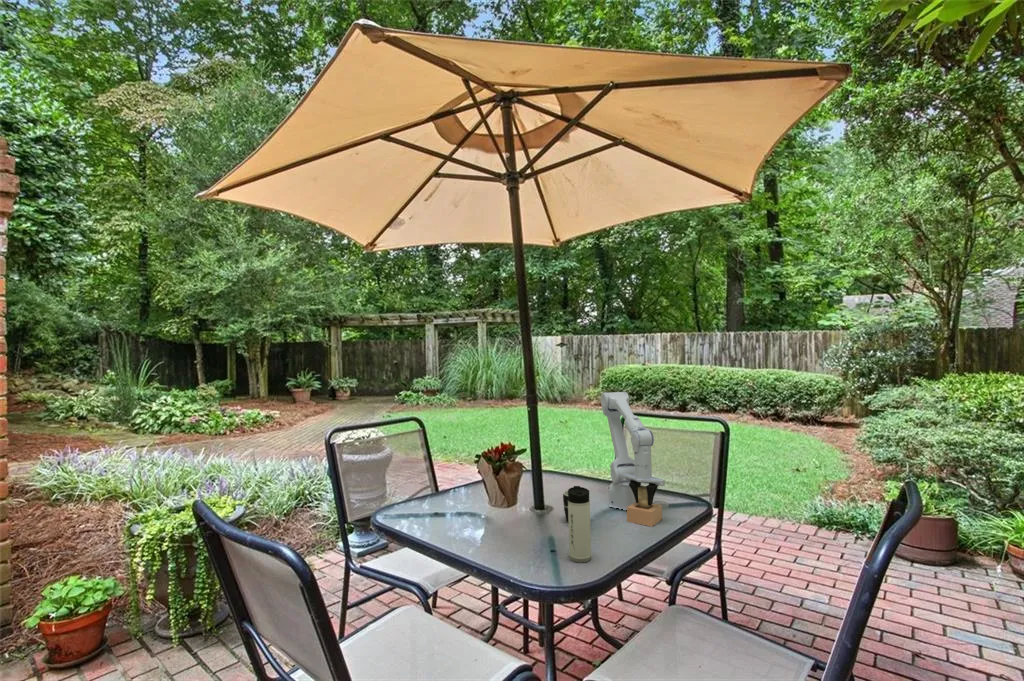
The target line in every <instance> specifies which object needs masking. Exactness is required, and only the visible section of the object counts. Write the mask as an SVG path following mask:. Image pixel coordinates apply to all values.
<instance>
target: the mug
mask: <svg viewBox="0 0 1024 681" xmlns="http://www.w3.org/2000/svg"><path fill="white" fill-rule="evenodd" d="M568 490H569V489H567V490H565V491H563V492H562V500H563V510H564V516H565V519H566V520H565V521H566V522H567V524H569V521H568Z"/></svg>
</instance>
